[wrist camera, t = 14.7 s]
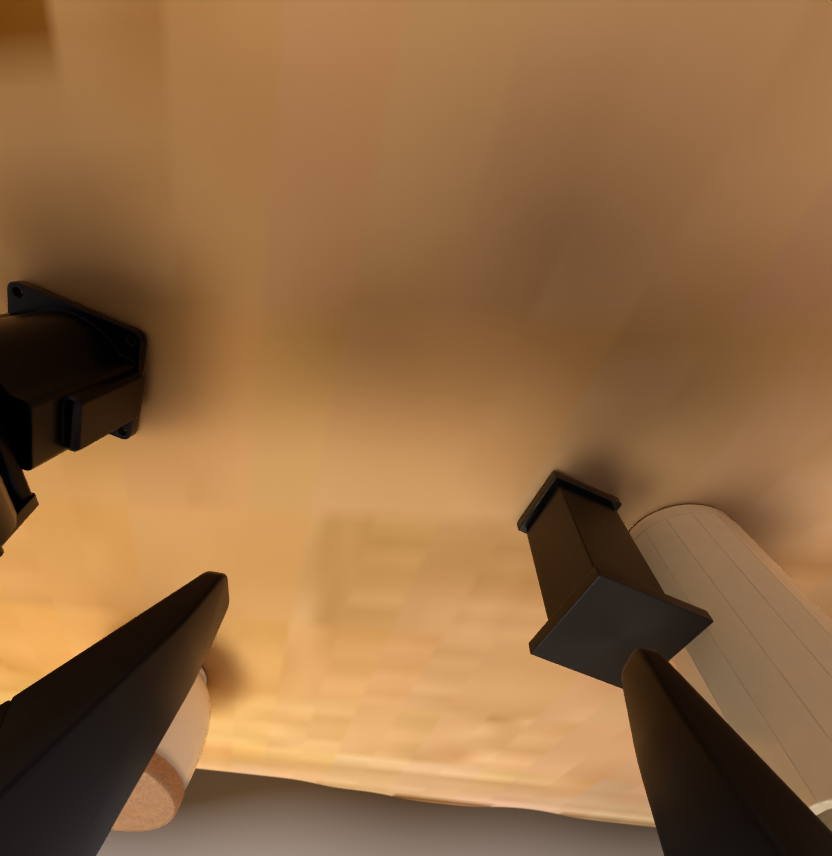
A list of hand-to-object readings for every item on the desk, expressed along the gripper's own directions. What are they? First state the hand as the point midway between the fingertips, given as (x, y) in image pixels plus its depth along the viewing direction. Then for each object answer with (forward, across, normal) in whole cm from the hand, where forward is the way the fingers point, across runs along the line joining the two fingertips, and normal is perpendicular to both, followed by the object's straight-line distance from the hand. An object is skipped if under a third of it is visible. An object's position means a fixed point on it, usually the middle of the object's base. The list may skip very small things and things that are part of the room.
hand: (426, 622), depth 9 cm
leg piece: (+13, -8, +5) cm, 16 cm away
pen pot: (+13, -15, +6) cm, 21 cm away
